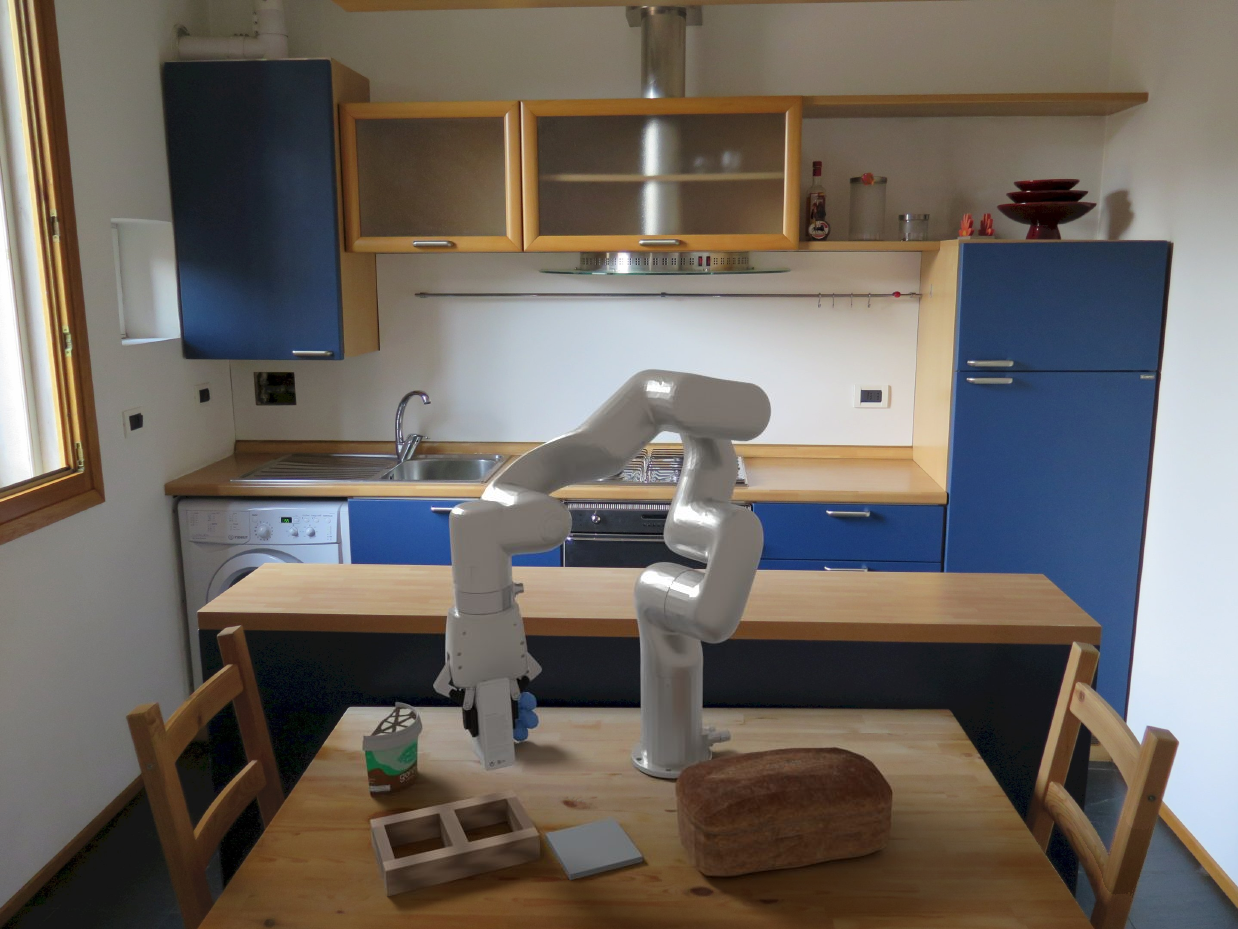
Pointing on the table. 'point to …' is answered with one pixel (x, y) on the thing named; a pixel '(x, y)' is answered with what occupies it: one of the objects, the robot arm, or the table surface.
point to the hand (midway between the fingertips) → (491, 727)
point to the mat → (593, 848)
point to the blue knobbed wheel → (525, 716)
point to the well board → (453, 841)
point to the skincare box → (494, 724)
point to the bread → (781, 809)
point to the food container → (393, 751)
